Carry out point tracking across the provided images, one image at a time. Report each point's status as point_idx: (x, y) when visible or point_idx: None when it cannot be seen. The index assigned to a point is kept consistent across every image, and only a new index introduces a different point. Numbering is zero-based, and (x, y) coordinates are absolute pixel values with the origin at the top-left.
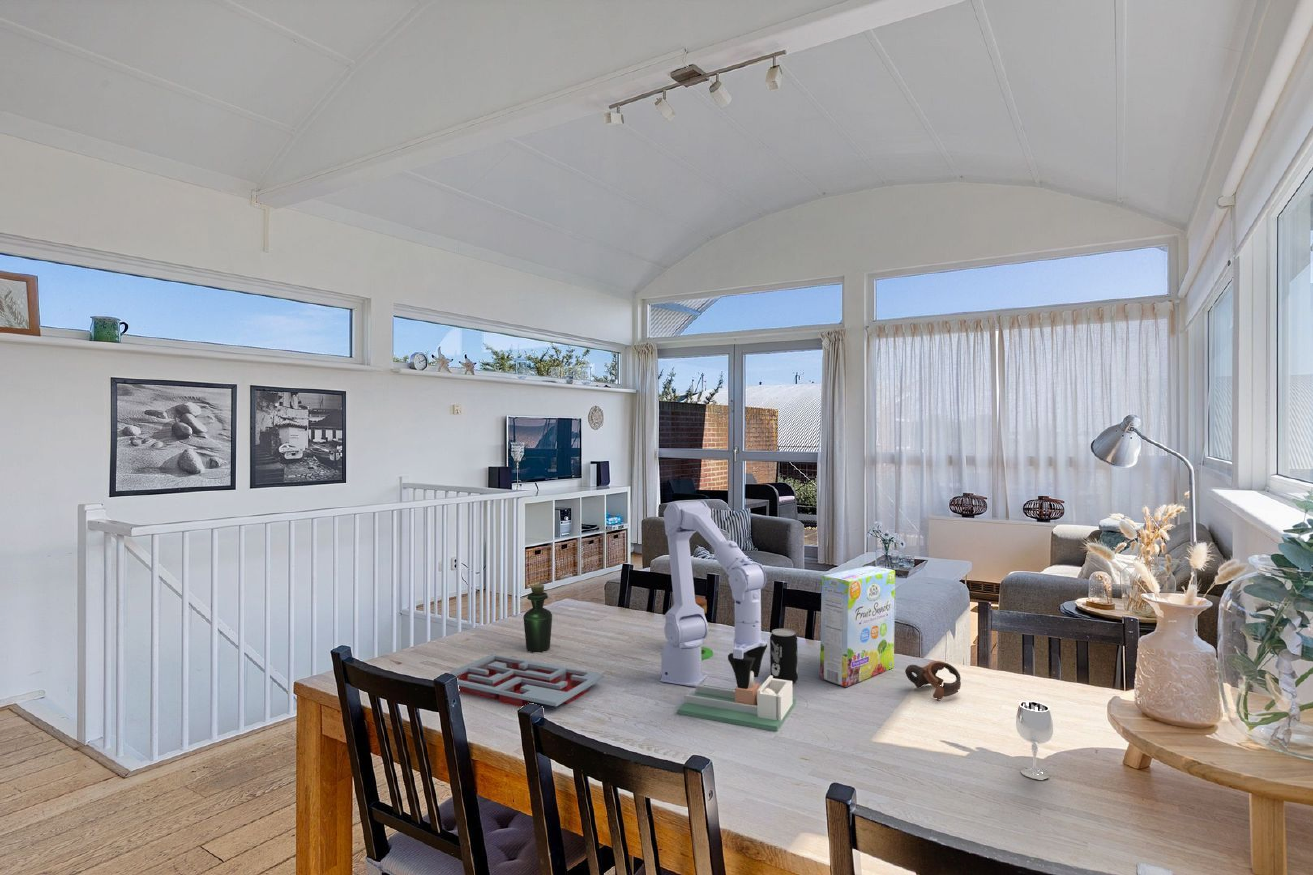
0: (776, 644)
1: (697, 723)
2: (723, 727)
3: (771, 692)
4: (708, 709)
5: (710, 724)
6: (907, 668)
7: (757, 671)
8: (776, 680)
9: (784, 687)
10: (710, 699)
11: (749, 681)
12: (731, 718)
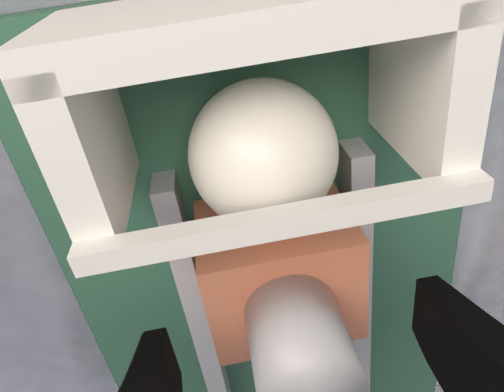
0: None
1: (486, 296)
2: (500, 206)
3: (289, 135)
4: (391, 326)
5: (483, 258)
6: None
7: (162, 367)
8: (99, 194)
9: (235, 47)
10: (366, 361)
11: (337, 320)
12: (459, 213)
